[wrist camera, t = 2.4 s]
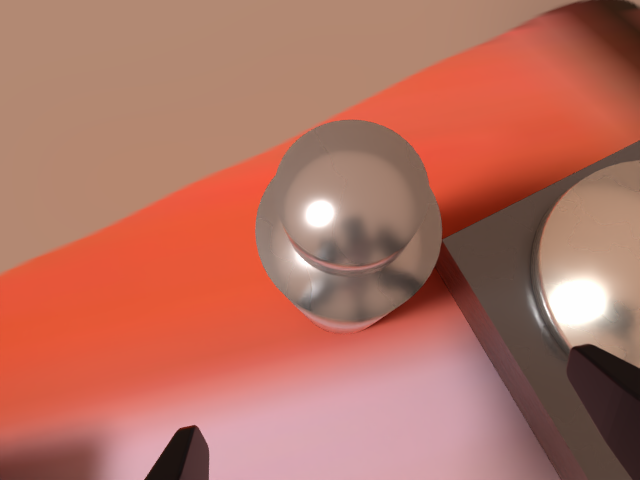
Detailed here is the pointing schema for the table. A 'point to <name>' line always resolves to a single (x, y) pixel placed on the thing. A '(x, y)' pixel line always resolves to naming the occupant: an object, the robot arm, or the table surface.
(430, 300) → the table surface
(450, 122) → the table surface
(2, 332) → the table surface
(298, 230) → the steel weight
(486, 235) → the bench scale
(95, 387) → the table surface
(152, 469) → the robot arm
